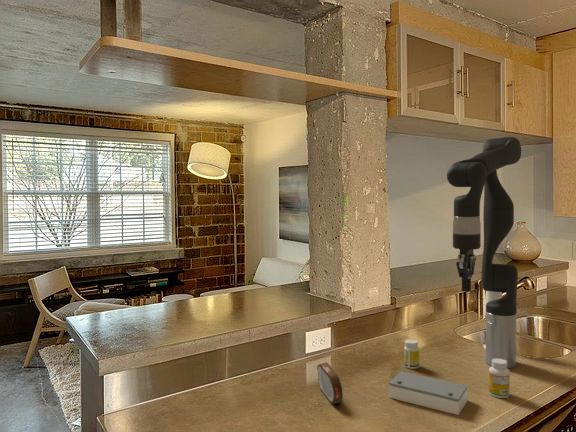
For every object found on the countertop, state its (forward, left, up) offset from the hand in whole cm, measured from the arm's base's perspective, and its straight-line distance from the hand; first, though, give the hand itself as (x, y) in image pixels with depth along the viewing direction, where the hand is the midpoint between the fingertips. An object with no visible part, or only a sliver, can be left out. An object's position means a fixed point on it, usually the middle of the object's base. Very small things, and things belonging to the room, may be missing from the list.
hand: (466, 290), depth 135 cm
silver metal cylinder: (-40, 0, -29) cm, 49 cm away
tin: (+27, -31, -29) cm, 50 cm away
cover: (+14, -7, -25) cm, 29 cm away
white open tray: (+13, -7, -29) cm, 32 cm away
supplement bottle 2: (0, +9, -29) cm, 30 cm away
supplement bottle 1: (-7, -19, -29) cm, 35 cm away
